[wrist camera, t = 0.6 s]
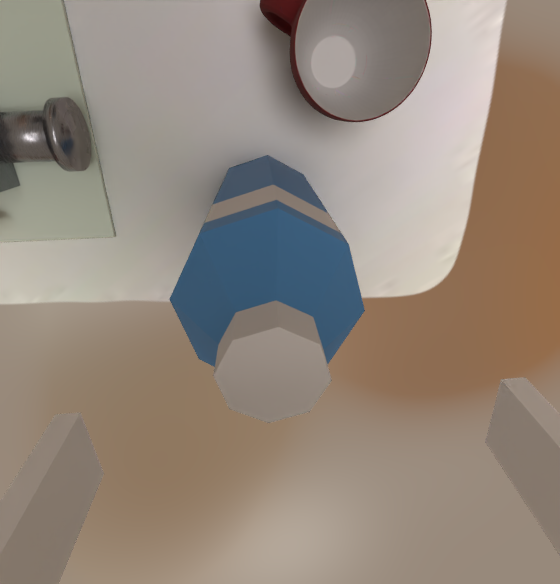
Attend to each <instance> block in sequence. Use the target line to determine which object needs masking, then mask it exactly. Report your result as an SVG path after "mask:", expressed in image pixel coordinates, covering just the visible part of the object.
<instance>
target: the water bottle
mask: <svg viewBox="0 0 560 584" xmlns="http://www.w3.org/2000/svg"><path fill="white" fill-rule="evenodd" d="M170 301H171V303H172V305H173V307H174V309H175V311H176V313H177V315H178V317H179V319H180V321H181V323H182V326H183V328H184V330H185V332H186V334H187V336H188V337H189V340H190V342H191V344H192V346H193V348H194V350H195V352H196V354H197V356H198V358H199V359H200V360H202V361H204V362H206V363H208V364H210V365H212V366H214V367H215V369H214V375H213V376H214V378H215V380H216V382H217V384H218V386H219V388H220V390H221V393H222V395H223V397H224V399H225V401H226V403H227V405H228V407H229V409H231V410H234V411H237V412H239V413H242V414H245V415H248V416H250V417H253V418H256V419H259V420H261V421H264V422H267V423H271V422H274V421H278V420H282V419H285V418H289V417H292V416H296V415H300V414H303V413H307V412H310V411H311V409H312V408H313V406H314V405H315V403H316V402H317V400H318V399H319V398H320V396H321V395H322V394H323V392H324V391H325V389H326V388H327V387H328V385H329V384H330V382H331V381H332V380H331V376H330V372H329V369H328V363H329V362H330V360H331V359H332V357H333V356H334V355H335V353H336V352H337V350H338V349H339V347H340V346H341V344H342V343H343V341H344V340H345V339H346V337H347V336H348V334H349V332H350V331H351V330H352V328H353V327H354V325H355V324H356V322H357V321H358V320H359V318H360V317H361V315H362V314H363V312H364V311H365V310H364V306H363V302H362V298H361V293H360V289H359V285H358V281H357V277H356V273H355V269H354V265H353V261H352V257H351V252H350V248H349V244H348V243H347V241H346V240H345V238H344V237H343V235H342V233H341V232H340V230H339V229H338V227H337V226H336V224H335V223H334V221H333V220H332V218H331V217H330V215H329V213H328V212H327V210H326V209H325V207H324V206H323V204H322V203H321V201H320V200H319V198H318V197H317V195H316V194H315V192H314V190H313V189H312V187H311V186H310V184H309V183H308V181H307V180H306V178H305V177H304V175H303V174H301V173H299V172H298V171H296V170H294V169H292V168H290V167H288V166H287V165H285V164H283V163H281V162H279V161H277V160H275V159H274V158H272V157H270V156H268V155H267V156H264V157H261V158H258V159H255V160H252V161H249V162H246V163H243V164H240V165H237V166H234V167H231V168H229V170H228V172H227V174H226V176H225V179H224V181H223V183H222V185H221V187H220V190H219V192H218V194H217V196H216V198H215V200H214V203H213V205H212V207H211V209H210V211H209V214H208V216H207V218H206V220H205V222H204V224H203V227H202V229H201V231H200V233H199V235H198V238H197V240H196V242H195V244H194V246H193V249H192V251H191V253H190V255H189V257H188V260H187V262H186V264H185V266H184V269H183V271H182V273H181V275H180V277H179V280H178V282H177V284H176V286H175V288H174V291H173V293H172V295H171V297H170Z"/></svg>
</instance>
